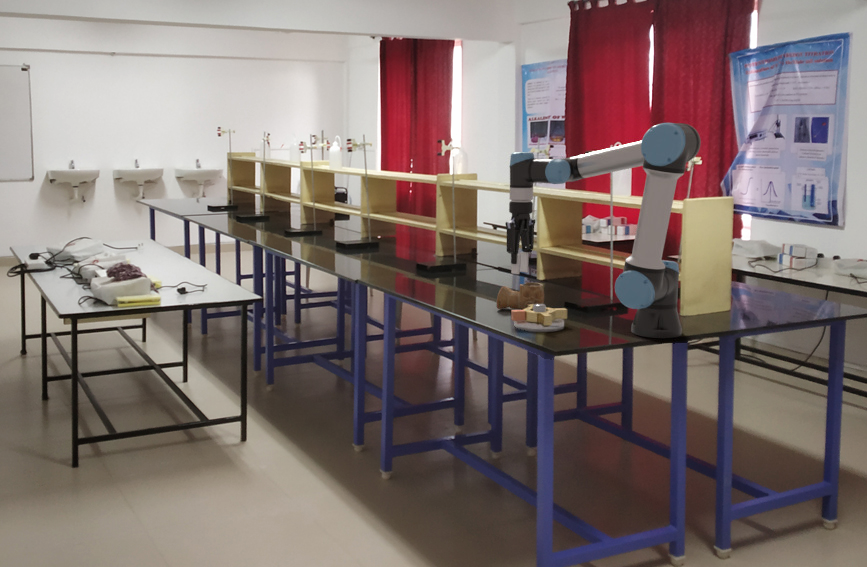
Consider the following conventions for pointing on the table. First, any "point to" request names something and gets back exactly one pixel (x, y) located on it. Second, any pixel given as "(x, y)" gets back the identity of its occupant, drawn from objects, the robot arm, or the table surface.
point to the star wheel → (539, 315)
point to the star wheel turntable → (539, 327)
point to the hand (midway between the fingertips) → (519, 272)
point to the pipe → (520, 296)
